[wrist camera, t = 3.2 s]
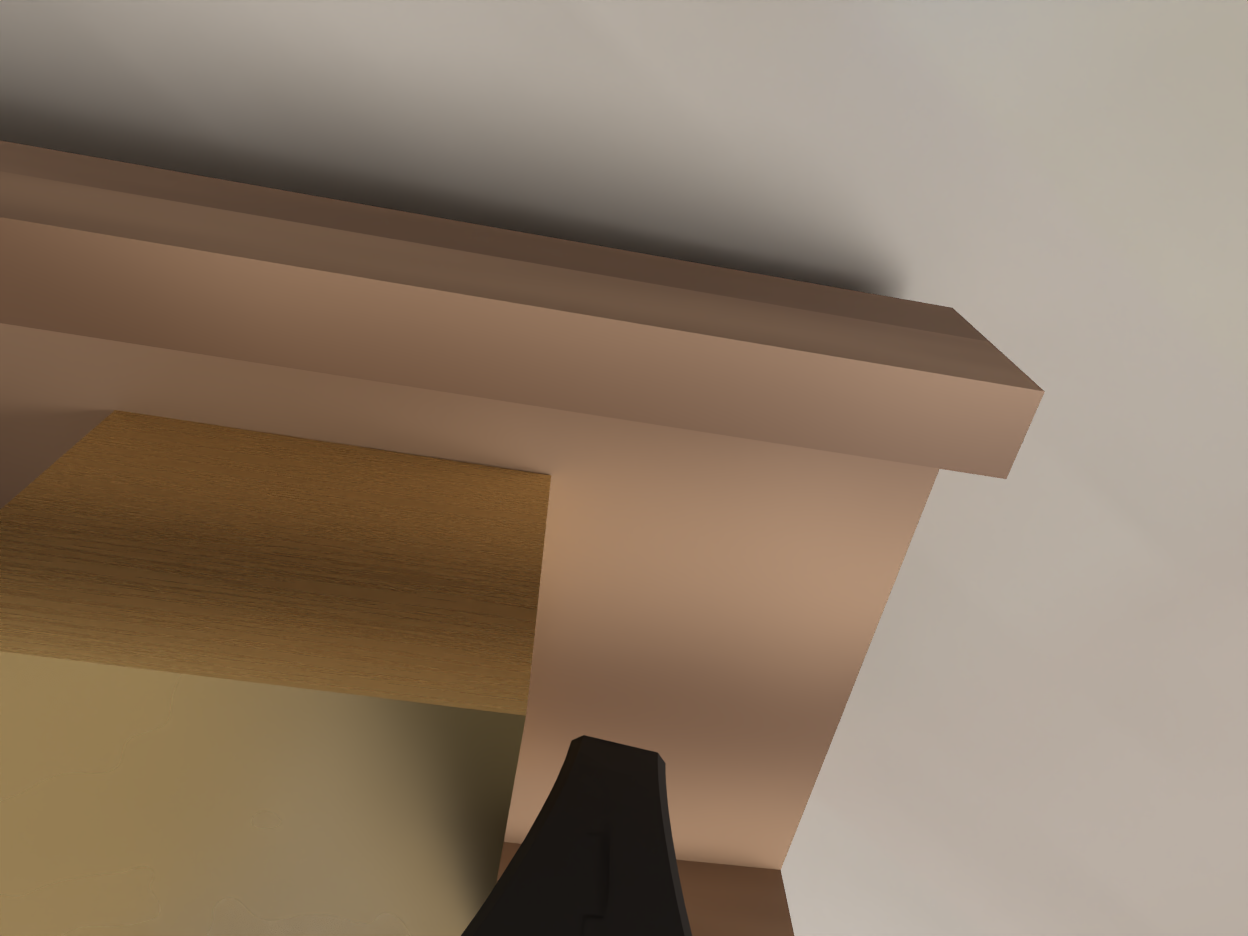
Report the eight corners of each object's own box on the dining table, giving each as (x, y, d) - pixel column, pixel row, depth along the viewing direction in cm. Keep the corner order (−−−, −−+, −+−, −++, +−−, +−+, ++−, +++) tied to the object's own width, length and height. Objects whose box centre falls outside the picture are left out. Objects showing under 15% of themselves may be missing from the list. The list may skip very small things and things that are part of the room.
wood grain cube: (501, 772, 13) (464, 1065, 9) (143, 731, 12) (-36, 1023, 9) (551, 474, 11) (526, 716, 7) (115, 409, 10) (-144, 633, 7)
